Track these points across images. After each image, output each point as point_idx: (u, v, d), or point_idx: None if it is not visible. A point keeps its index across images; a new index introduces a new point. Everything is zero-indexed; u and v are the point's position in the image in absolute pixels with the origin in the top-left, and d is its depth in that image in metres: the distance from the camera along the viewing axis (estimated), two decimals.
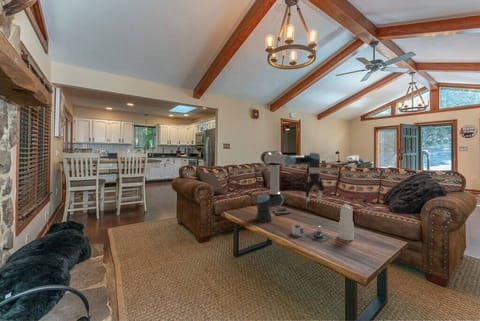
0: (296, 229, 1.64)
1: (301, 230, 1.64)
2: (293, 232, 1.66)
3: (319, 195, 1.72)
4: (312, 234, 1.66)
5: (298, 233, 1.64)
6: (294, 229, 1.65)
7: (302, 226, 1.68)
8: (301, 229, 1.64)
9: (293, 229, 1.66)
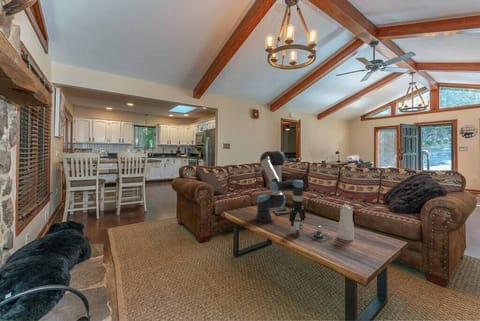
0: (296, 223, 1.64)
1: (301, 224, 1.65)
2: None
3: None
4: (312, 234, 1.66)
5: (298, 227, 1.64)
6: None
7: (302, 220, 1.68)
8: (301, 223, 1.65)
9: None
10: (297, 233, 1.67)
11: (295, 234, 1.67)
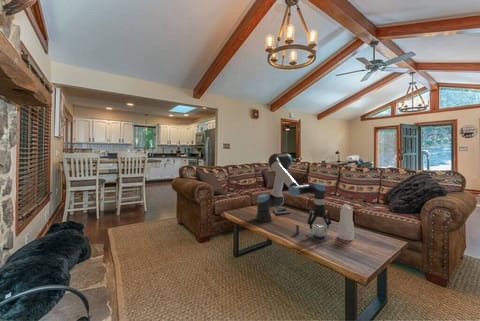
0: (315, 228, 1.60)
1: (321, 230, 1.59)
2: (313, 231, 1.63)
3: (325, 229, 1.63)
4: (312, 234, 1.66)
5: (317, 232, 1.60)
6: (314, 228, 1.62)
7: (324, 227, 1.61)
8: (321, 229, 1.59)
9: (313, 228, 1.63)
10: (297, 233, 1.67)
11: (295, 234, 1.67)
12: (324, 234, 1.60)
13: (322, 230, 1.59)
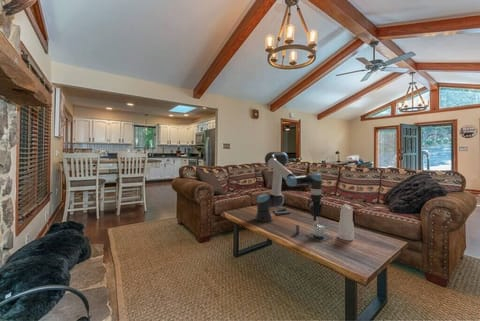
0: (315, 228, 1.60)
1: (321, 230, 1.59)
2: (313, 231, 1.63)
3: None
4: (312, 234, 1.66)
5: (317, 232, 1.60)
6: (314, 228, 1.62)
7: (324, 227, 1.61)
8: (321, 229, 1.59)
9: (313, 228, 1.63)
10: (297, 233, 1.67)
11: (295, 234, 1.67)
12: (324, 234, 1.60)
13: (322, 230, 1.59)
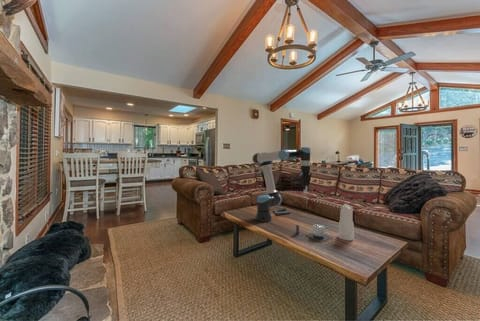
0: (315, 228, 1.60)
1: (321, 230, 1.59)
2: (313, 231, 1.63)
3: None
4: (312, 234, 1.66)
5: (317, 232, 1.60)
6: (314, 228, 1.62)
7: (324, 227, 1.61)
8: (321, 229, 1.59)
9: (313, 228, 1.63)
10: (297, 233, 1.67)
11: (295, 234, 1.67)
12: (324, 234, 1.60)
13: (322, 230, 1.59)
